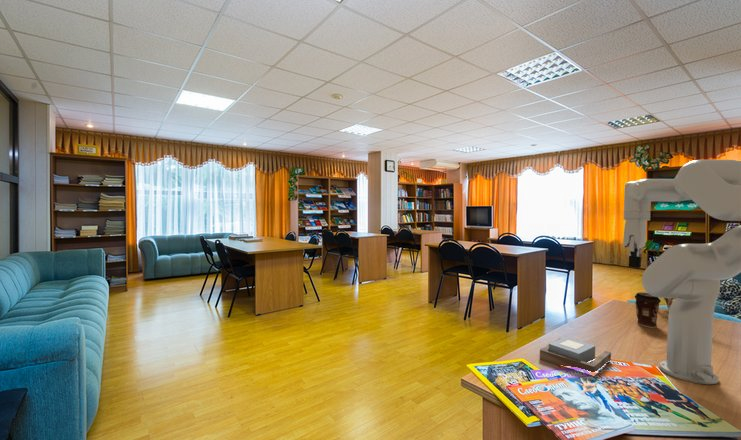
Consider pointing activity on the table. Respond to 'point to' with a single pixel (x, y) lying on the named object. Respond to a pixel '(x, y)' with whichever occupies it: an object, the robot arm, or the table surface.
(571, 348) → the carton
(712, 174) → the robot arm
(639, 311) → the coffee cup
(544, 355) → the display bay
